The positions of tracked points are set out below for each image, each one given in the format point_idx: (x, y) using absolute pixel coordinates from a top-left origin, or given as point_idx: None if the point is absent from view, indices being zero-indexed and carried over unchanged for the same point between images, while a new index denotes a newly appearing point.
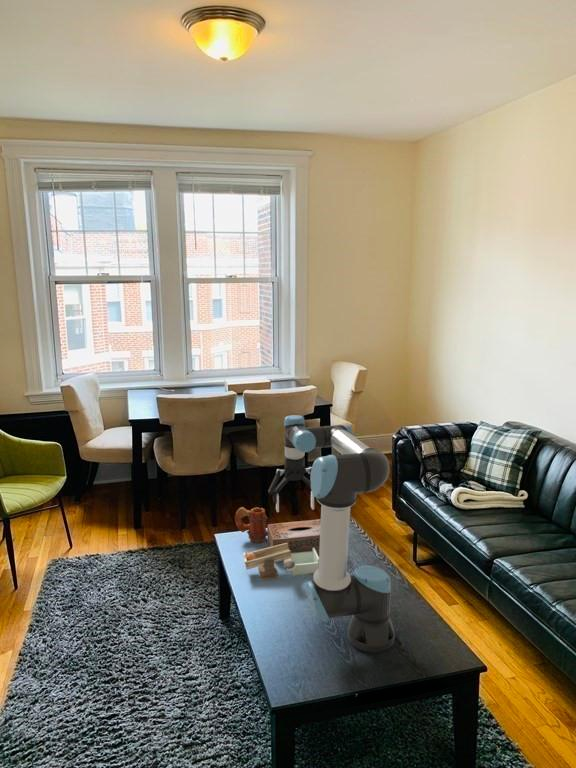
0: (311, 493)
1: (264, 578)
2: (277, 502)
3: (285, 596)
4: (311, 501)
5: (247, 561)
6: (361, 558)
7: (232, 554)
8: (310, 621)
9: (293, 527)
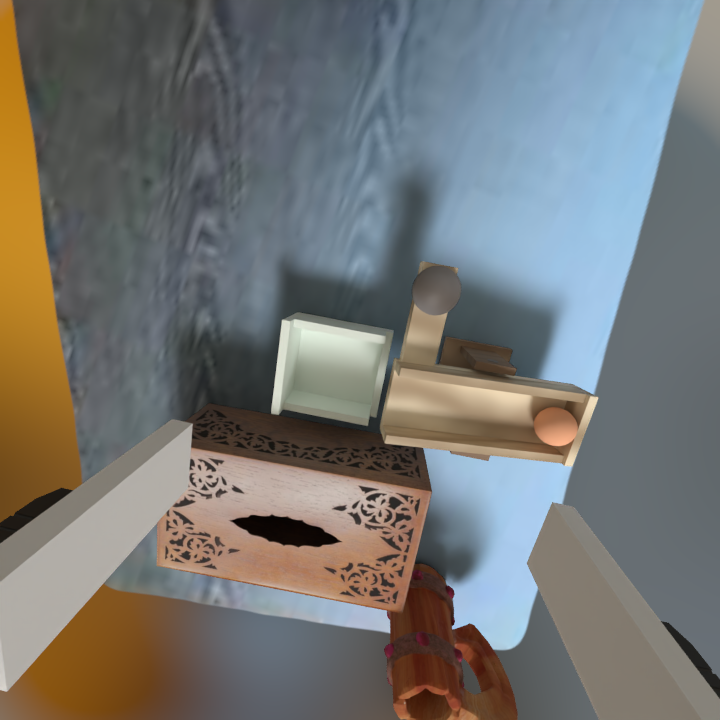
0: (29, 616)
1: (498, 346)
2: (647, 614)
3: (472, 211)
4: (139, 509)
5: (582, 399)
6: (125, 348)
7: (532, 532)
8: (455, 3)
9: (307, 551)
